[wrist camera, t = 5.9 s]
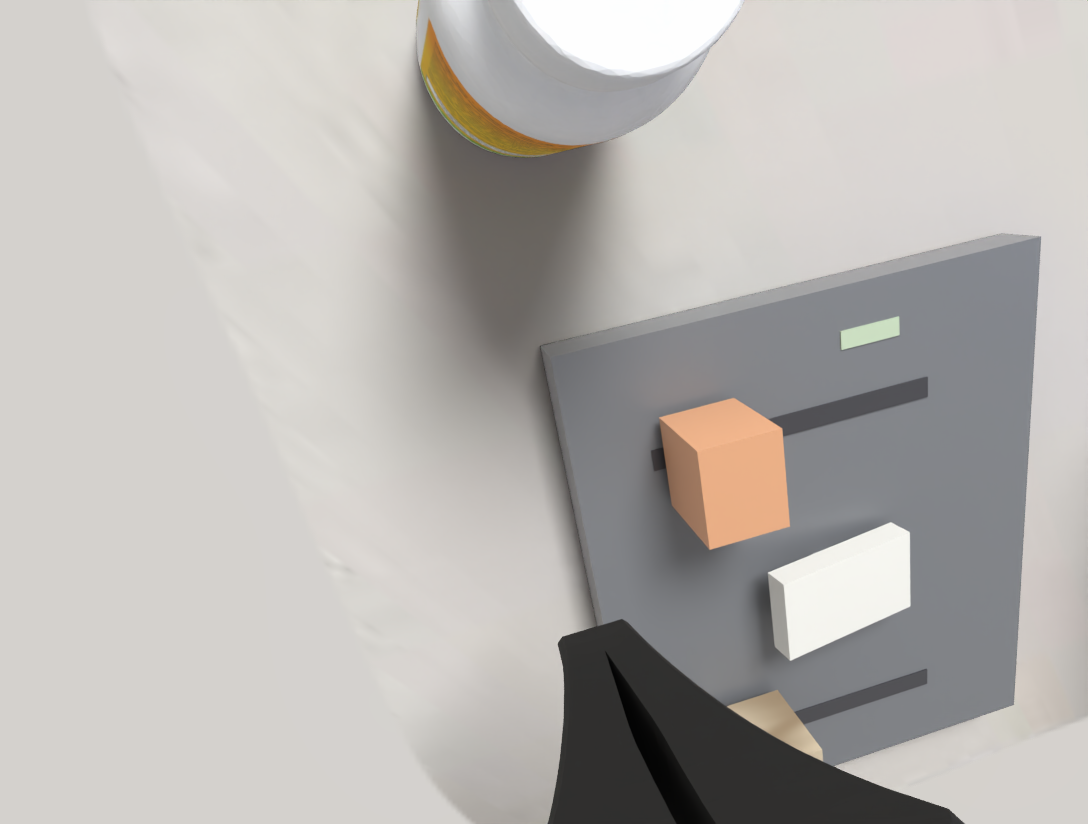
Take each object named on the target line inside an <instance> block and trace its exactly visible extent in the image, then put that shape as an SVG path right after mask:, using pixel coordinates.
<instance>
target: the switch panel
mask: <svg viewBox="0 0 1088 824" xmlns="http://www.w3.org/2000/svg"><path fill="white" fill-rule="evenodd" d="M1040 246H1041V237H1040V236H1027V235H1014V234H998V235H994V236H989V237H985V238H981V239H977V240H973V241H969V242H965V243H961V244H957V245H952V246H948V247H944V248H940V249H936V250H932V251H928V252H924V253H920V254H916V255H911V256H907V257H903V258H899V259H895V260H891V261H887V262H883V263H879V264H874V265H870V266H866V267H862V268H858V269H854V270H850V271H846V272H842V273H838V274H833V275H829V276H825V277H821V278H817V279H813V280H809V281H805V282H801V283H796V284H792V285H788V286H784V287H780V288H776V289H772V290H768V291H764V292H760V293H755V294H751V295H747V296H743V297H739V298H735V299H731V300H727V301H723V302H718V303H714V304H710V305H706V306H702V307H698V308H694V309H690V310H686V311H682V312H677V313H673V314H669V315H665V316H661V317H657V318H653V319H649V320H645V321H640V322H636V323H632V324H628V325H624V326H620V327H616V328H612V329H608V330H604V331H599V332H595V333H591V334H587V335H583V336H579V337H575V338H571V339H567V340H562V341H558V342H554V343H550V344H546V345H542V346H540V347H541V352H542V357H543V362H544V367H545V372H546V377H547V382H548V387H549V392H550V397H551V402H552V407H553V411H554V416H555V421H556V426H557V431H558V436H559V441H560V446H561V451H562V456H563V461H564V466H565V470H566V475H567V480H568V485H569V490H570V495H571V500H572V505H573V510H574V515H575V520H576V525H577V530H578V534H579V539H580V544H581V549H582V554H583V559H584V564H585V569H586V574H587V579H588V584H589V589H590V593H591V598H592V603H593V608H594V613H595V618H596V623H597V626H600V625H603V624H607V623H610V622H613V621H617V620H620V619H623V620H625V621H626V622H628V623H629V624H630V625H631V626H632V627H633V628H634V629H635V630H636V631H637V632H638V633H639V634H640V635H641V636H642V637H643V638H644V639H645V640H646V641H647V642H648V643H649V644H650V645H651V646H652V647H653V648H654V649H655V650H656V651H658V652H659V653H660V654H661V655H662V656H663V657H664V658H665V659H666V660H668V661H669V662H670V663H671V664H672V665H673V666H675V667H676V668H677V669H678V670H680V671H681V672H682V673H683V674H684V675H686V676H687V677H688V678H689V679H691V680H692V681H693V682H694V683H696V684H697V685H698V686H699V687H701V688H702V689H703V690H705V691H706V692H707V693H709V694H710V695H711V696H713V697H714V698H716V699H717V700H718V701H720V702H721V703H723V704H724V705H725V706H729V705H732V704H735V703H738V702H741V701H744V700H748V699H751V698H754V697H757V696H760V695H763V694H766V693H769V692H772V691H776V690H778V691H779V693H780V694H781V695H782V697H783V698H784V699H785V701H786V702H787V703H788V705H789V706H790V707H791V709H792V710H793V711H794V713H795V714H796V715H797V717H798V718H799V719H800V721H801V722H802V723H803V725H804V726H805V727H806V729H807V730H808V731H809V733H810V734H811V735H812V737H813V738H814V739H815V741H816V742H817V743H818V745H819V746H820V747H821V749H822V754H823V762H825V763H827V764H829V765H831V766H835V765H838V764H841V763H844V762H847V761H850V760H853V759H856V758H859V757H862V756H865V755H868V754H871V753H874V752H876V751H879V750H882V749H885V748H888V747H891V746H894V745H897V744H900V743H903V742H906V741H909V740H912V739H915V738H918V737H921V736H924V735H926V734H929V733H932V732H935V731H938V730H941V729H944V728H947V727H950V726H953V725H956V724H959V723H962V722H965V721H968V720H971V719H974V718H976V717H979V716H982V715H985V714H988V713H991V712H994V711H997V710H1000V709H1003V708H1006V707H1009V706H1012V705H1014V692H1015V675H1016V658H1017V640H1018V623H1019V606H1020V589H1021V572H1022V555H1023V538H1024V521H1025V503H1026V486H1027V469H1028V452H1029V435H1030V418H1031V401H1032V383H1033V366H1034V349H1035V332H1036V315H1037V298H1038V281H1039V264H1040ZM731 398H735V399H737V400H738V401H740V402H741V403H743V404H744V405H746V406H748V407H749V408H751V409H752V410H754V411H756V412H757V413H759V414H760V415H762V416H763V417H765V418H767V419H768V420H770V421H771V422H773V423H774V424H776V425H778V426H779V427H781V428H782V431H783V444H784V457H785V469H786V482H787V495H788V508H789V520H790V527H787V528H783V529H780V530H776V531H773V532H769V533H766V534H763V535H759V536H756V537H752V538H749V539H745V540H742V541H738V542H735V543H732V544H728V545H725V546H721V547H718V548H714V549H711V550H709V548H708V547H707V546H706V545H705V544H704V543H703V541H702V540H701V539H700V538H699V537H698V536H697V534H696V533H695V532H694V531H693V530H692V529H691V527H690V526H689V525H688V524H687V523H686V521H685V520H684V519H683V518H682V517H681V516H680V514H679V513H678V512H677V511H676V510H675V509H674V507H673V506H672V503H671V496H670V490H669V483H668V476H667V469H666V462H665V455H664V448H663V442H662V435H661V428H660V421H659V417H663V416H666V415H670V414H674V413H678V412H682V411H686V410H689V409H693V408H697V407H701V406H705V405H708V404H712V403H716V402H720V401H724V400H727V399H731ZM890 522H891V523H893V524H895V525H897V526H899V527H901V528H903V529H905V530H907V531H908V532H910V607H908V608H906V609H904V610H901V611H899V612H897V613H895V614H893V615H890V616H888V617H886V618H884V619H882V620H879V621H877V622H875V623H873V624H871V625H868V626H866V627H864V628H862V629H859V630H857V631H855V632H853V633H851V634H848V635H846V636H844V637H842V638H840V639H837V640H835V641H833V642H831V643H829V644H826V645H824V646H822V647H820V648H818V649H815V650H813V651H811V652H809V653H806V654H804V655H802V656H800V657H798V658H795V659H793V660H791V661H790V660H789V659H788V658H787V657H785V656H784V655H783V654H782V653H781V652H780V651H779V650H778V649H777V648H776V647H775V644H774V633H773V623H772V612H771V602H770V591H769V580H768V572H770V571H773V570H775V569H778V568H780V567H783V566H785V565H788V564H790V563H792V562H795V561H797V560H800V559H802V558H805V557H807V556H809V555H812V554H814V553H817V552H819V551H822V550H824V549H827V548H829V547H831V546H834V545H836V544H839V543H841V542H844V541H846V540H849V539H851V538H853V537H856V536H858V535H861V534H863V533H866V532H868V531H870V530H873V529H875V528H878V527H880V526H883V525H885V524H888V523H890Z"/></svg>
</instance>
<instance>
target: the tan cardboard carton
mask: <svg viewBox="0 0 1088 824" xmlns="http://www.w3.org/2000/svg"><path fill="white" fill-rule="evenodd" d="M727 707H728V708H730V709H731V710H733V711H734V712H736V713H737V714H739V715H740V716H742V717H743V718H745V719H746V720H748V721H749V722H751V723H753V724H754V725H756V726H758V727H759V728H761V729H763V730H764V731H766V732H768V733H769V734H771V735H773V736H774V737H776V738H778V739H780V740H782V741H783V742H785V743H787V744H789V745H791V746H792V747H794V748H796V749H798V750H800V751H802V752H804V753H806V754H808V755H810V756H813V757H815V758H817V759H819V760H821V761H823V754H822V749H821V747H820V746H819V745H818V743H817V742H816V741H815V739H814V738H813V737H812V735H811V734H810V733H809V731H808V730H807V729H806V727H805V726H804V725H803V723H802V722H801V721H800V719H799V718H798V717H797V715H796V714H795V713H794V711H793V710H792V709H791V707H790V706H789V705H788V703H787V702H786V701H785V699H784V698H783V697H782V695H781V694H780V693H779V691H778V690H776V691H772V692H769V693H766V694H763V695H760V696H757V697H754V698H751V699H748V700H744V701H741V702H738V703H735V704H732V705H729V706H727Z"/></svg>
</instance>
